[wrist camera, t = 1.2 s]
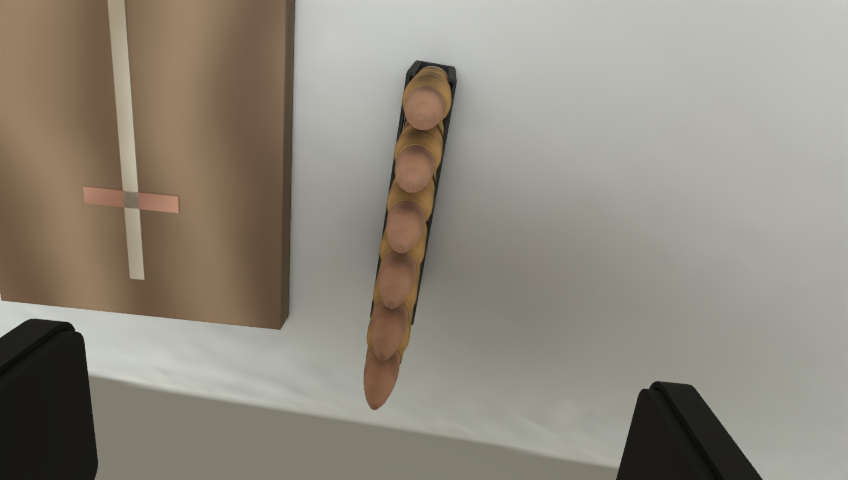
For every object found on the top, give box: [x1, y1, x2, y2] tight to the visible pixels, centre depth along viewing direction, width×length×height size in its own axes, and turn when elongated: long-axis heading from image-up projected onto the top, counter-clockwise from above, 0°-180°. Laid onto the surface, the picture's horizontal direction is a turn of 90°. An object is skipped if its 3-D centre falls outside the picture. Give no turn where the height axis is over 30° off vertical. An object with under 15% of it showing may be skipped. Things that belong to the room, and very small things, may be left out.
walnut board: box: [0, 0, 295, 330], centre depth 24 cm, size 14×28×2 cm, turn 174°
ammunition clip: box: [364, 60, 457, 410], centre depth 21 cm, size 11×2×12 cm, turn 171°
